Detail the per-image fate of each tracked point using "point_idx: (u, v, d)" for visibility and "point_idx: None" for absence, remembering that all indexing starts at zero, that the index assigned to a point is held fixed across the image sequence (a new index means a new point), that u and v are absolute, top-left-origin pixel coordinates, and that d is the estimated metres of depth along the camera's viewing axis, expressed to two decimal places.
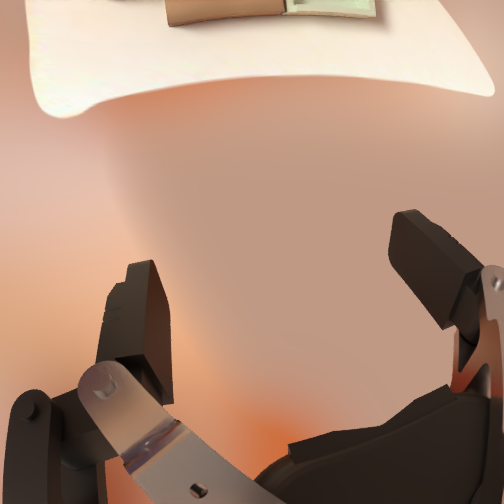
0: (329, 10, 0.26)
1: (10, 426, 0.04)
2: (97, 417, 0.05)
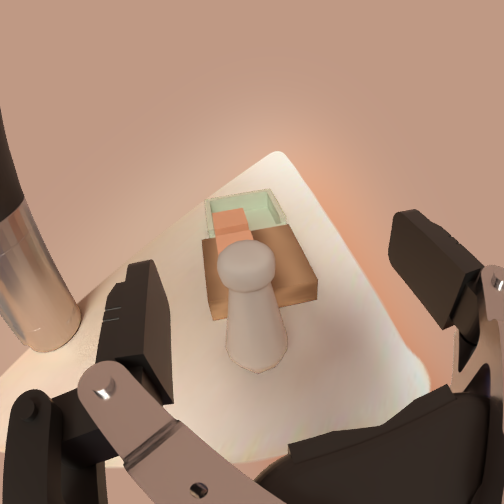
0: (278, 204, 0.48)
1: (10, 426, 0.04)
2: (97, 417, 0.05)
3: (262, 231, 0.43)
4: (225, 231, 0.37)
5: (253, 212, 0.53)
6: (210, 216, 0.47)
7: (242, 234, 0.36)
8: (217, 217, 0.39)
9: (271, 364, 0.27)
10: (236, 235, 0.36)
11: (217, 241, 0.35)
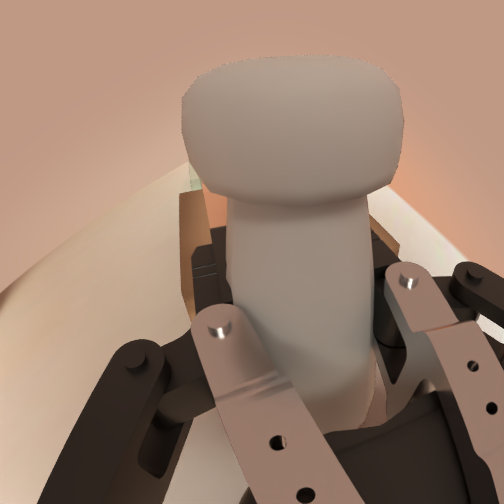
0: None
1: (107, 369, 0.06)
2: (221, 354, 0.06)
3: None
4: None
5: None
6: None
7: None
8: None
9: None
10: None
11: None
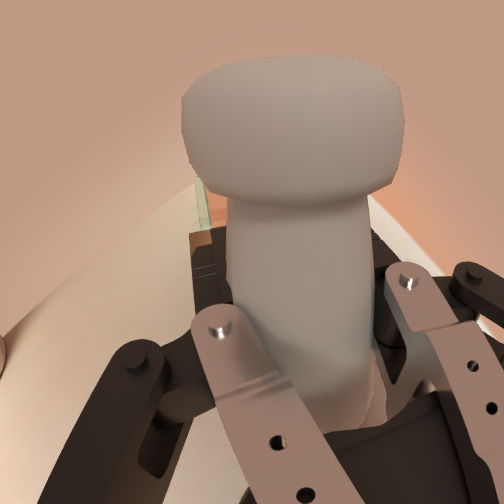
0: None
1: (107, 369, 0.06)
2: (221, 354, 0.06)
3: None
4: None
5: None
6: (203, 197, 0.30)
7: None
8: None
9: None
10: None
11: None
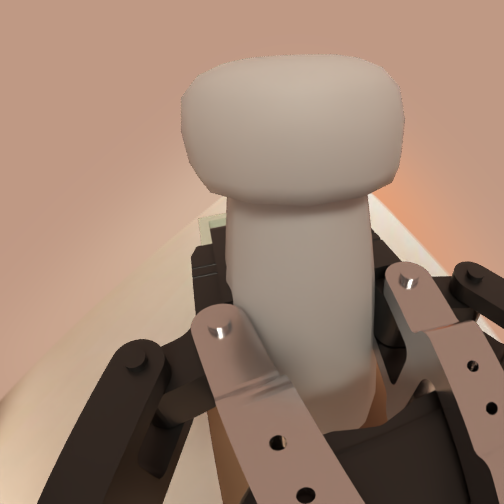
0: None
1: (107, 369, 0.06)
2: (222, 354, 0.06)
3: None
4: None
5: None
6: None
7: None
8: None
9: None
10: None
11: None
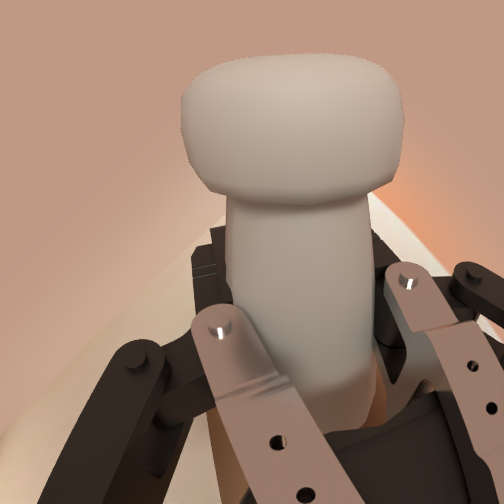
0: None
1: (107, 369, 0.06)
2: (221, 354, 0.06)
3: None
4: None
5: None
6: None
7: None
8: None
9: None
10: None
11: None
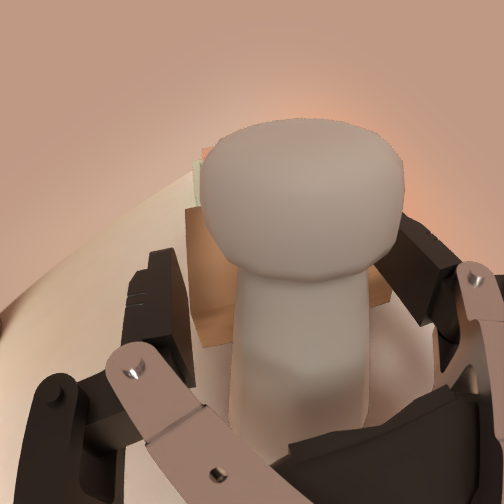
0: None
1: (32, 408, 0.05)
2: (128, 396, 0.05)
3: None
4: None
5: None
6: None
7: None
8: None
9: None
10: None
11: (203, 150, 0.27)
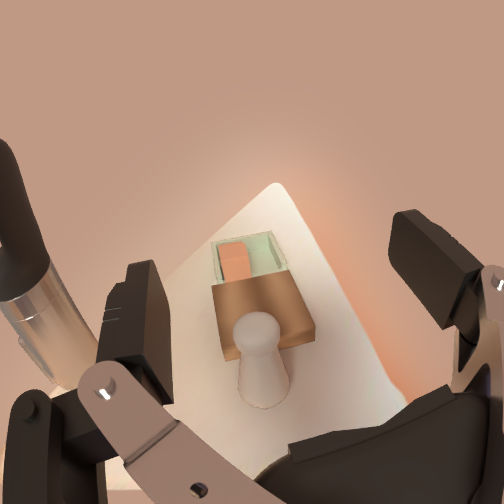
0: (279, 249, 0.53)
1: (10, 426, 0.04)
2: (97, 417, 0.05)
3: (265, 277, 0.48)
4: (225, 245, 0.53)
5: (256, 253, 0.57)
6: (217, 261, 0.52)
7: (238, 245, 0.49)
8: None
9: (276, 403, 0.32)
10: (234, 246, 0.49)
11: (220, 250, 0.48)
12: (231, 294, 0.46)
